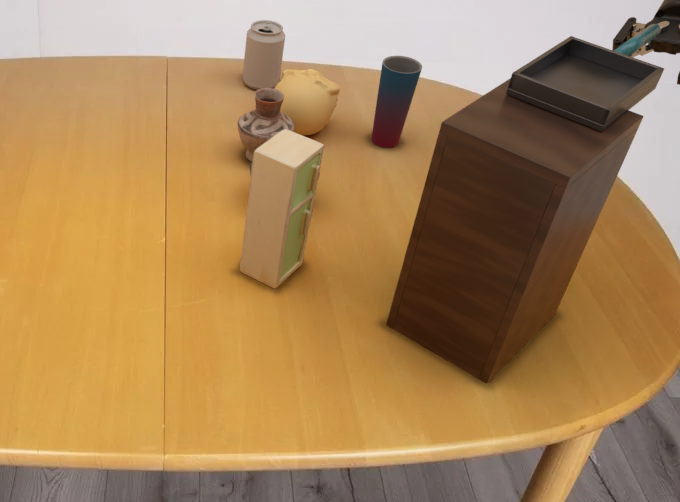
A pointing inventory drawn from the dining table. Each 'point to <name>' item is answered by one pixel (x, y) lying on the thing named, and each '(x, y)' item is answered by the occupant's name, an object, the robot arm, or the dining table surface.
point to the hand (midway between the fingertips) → (648, 75)
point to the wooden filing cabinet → (502, 227)
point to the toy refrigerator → (280, 206)
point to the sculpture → (307, 99)
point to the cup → (394, 99)
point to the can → (263, 54)
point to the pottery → (263, 121)
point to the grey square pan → (588, 79)
